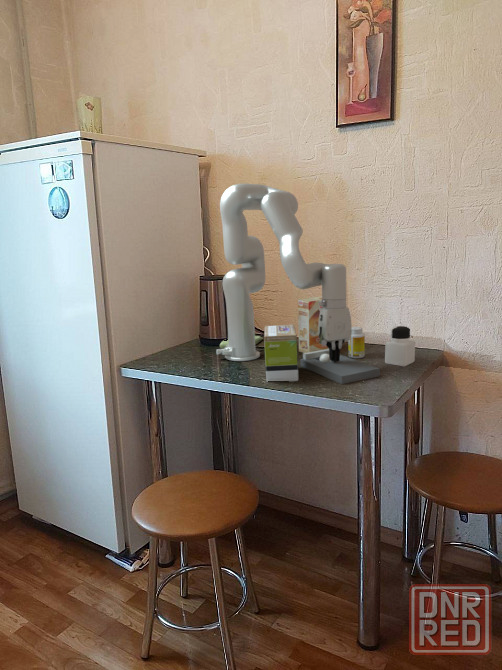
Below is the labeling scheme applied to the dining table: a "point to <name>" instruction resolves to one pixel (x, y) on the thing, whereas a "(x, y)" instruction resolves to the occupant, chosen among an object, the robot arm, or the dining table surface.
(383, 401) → the dining table surface
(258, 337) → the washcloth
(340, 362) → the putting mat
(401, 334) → the medicine bottle
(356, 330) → the supplement bottle
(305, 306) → the coffeecake box
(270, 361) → the tea box
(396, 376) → the dining table surface
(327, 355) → the ball
